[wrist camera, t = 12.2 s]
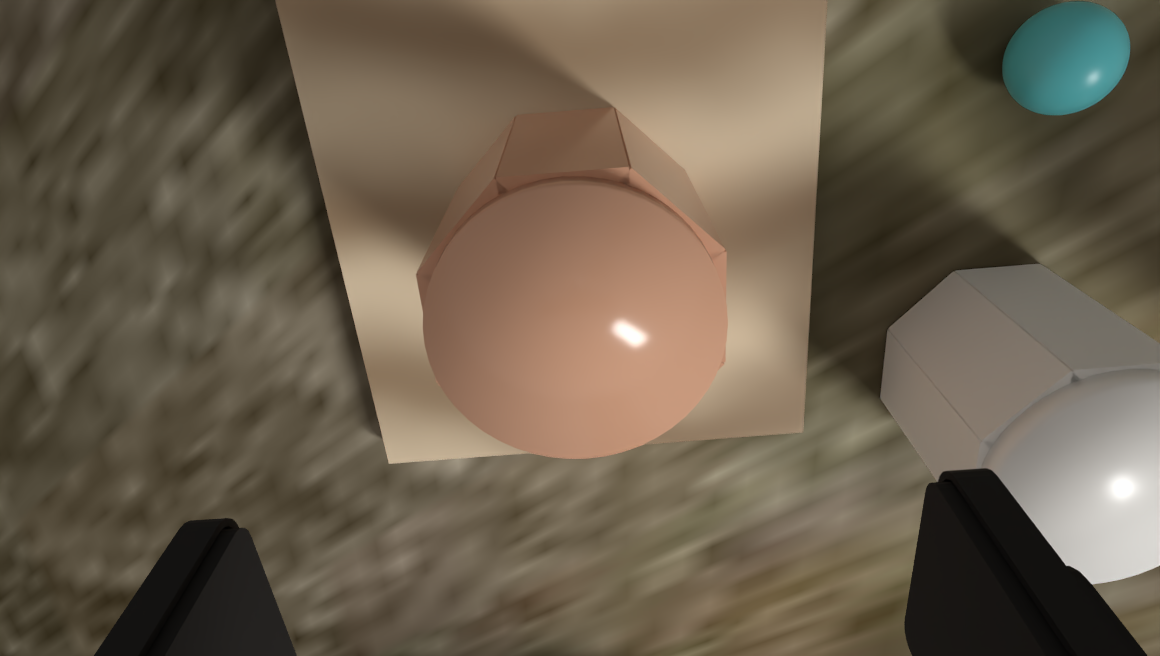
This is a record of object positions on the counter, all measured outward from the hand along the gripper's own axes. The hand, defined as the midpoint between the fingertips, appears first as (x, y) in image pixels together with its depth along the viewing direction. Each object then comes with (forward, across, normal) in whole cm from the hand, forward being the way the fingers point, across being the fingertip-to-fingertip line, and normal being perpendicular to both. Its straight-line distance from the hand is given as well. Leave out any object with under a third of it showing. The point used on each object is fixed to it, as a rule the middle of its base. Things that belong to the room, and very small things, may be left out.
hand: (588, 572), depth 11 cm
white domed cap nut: (+17, -14, +8) cm, 24 cm away
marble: (+16, -15, -3) cm, 22 cm away
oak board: (+17, 0, +1) cm, 17 cm away
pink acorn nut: (+16, 0, +1) cm, 16 cm away
